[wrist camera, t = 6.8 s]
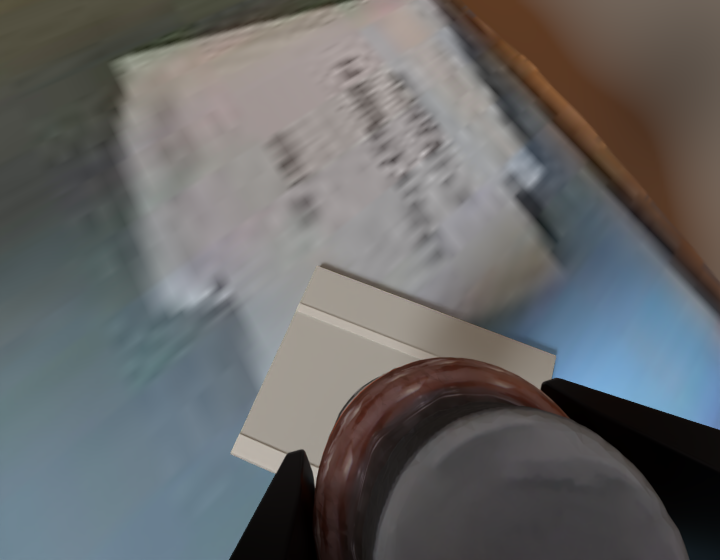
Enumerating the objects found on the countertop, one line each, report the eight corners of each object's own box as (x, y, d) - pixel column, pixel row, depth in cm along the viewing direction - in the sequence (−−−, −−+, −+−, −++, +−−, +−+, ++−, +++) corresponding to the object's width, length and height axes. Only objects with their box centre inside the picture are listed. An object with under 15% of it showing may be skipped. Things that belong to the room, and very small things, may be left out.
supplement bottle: (316, 395, 15) (243, 388, 5) (442, 359, 16) (633, 282, 5) (351, 551, 13) (362, 1139, 3) (491, 503, 14) (932, 825, 3)
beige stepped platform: (552, 356, 22) (556, 355, 21) (507, 574, 18) (511, 579, 18) (317, 267, 23) (316, 265, 23) (232, 452, 20) (230, 454, 19)
